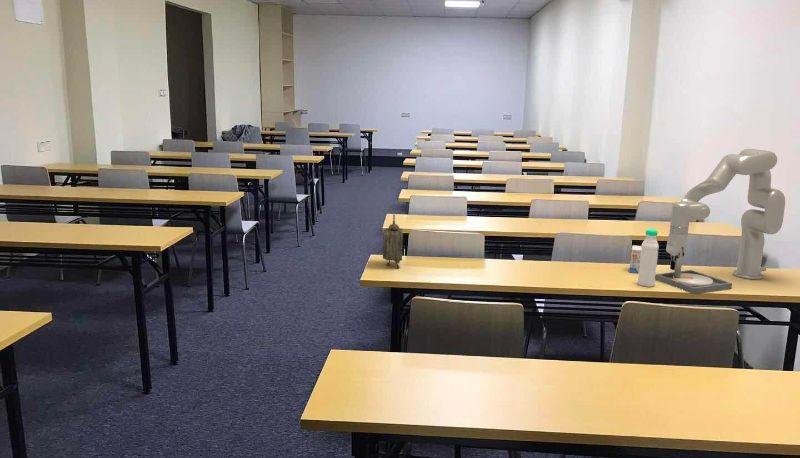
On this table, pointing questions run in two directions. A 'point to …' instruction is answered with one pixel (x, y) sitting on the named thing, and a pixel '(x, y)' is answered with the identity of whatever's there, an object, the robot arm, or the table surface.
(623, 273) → the table surface
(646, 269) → the water bottle
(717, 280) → the gray square tray
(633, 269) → the ink box
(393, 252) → the ribbed lidded container
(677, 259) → the dial
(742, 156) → the robot arm
